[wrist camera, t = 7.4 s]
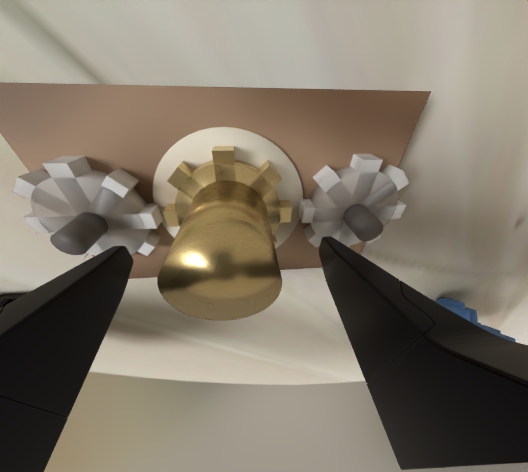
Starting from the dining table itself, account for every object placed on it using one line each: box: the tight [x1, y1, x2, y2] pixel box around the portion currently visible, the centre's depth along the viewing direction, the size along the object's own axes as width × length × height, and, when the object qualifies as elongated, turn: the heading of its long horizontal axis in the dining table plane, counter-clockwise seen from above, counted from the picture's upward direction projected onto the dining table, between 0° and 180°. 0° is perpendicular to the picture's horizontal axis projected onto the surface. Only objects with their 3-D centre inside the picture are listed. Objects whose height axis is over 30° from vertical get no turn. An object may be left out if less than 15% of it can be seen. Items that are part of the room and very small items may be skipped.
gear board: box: [0, 83, 431, 279], centre depth 11 cm, size 12×21×4 cm, turn 89°
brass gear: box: [158, 146, 292, 320], centre depth 9 cm, size 7×7×6 cm
